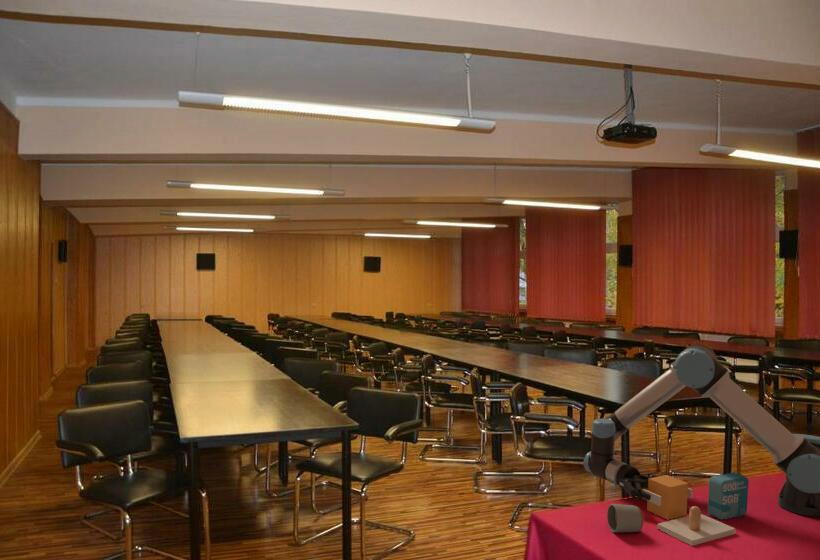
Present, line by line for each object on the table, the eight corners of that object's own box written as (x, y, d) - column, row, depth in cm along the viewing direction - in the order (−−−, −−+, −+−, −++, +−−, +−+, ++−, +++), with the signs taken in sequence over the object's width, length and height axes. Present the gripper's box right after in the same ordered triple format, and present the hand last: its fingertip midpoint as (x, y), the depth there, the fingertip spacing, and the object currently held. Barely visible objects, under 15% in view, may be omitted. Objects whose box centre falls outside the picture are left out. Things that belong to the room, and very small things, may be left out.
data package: (719, 521, 204) (721, 481, 203) (706, 515, 208) (708, 476, 207) (747, 514, 209) (749, 476, 208) (734, 509, 213) (736, 471, 212)
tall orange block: (665, 506, 214) (666, 474, 213) (686, 515, 207) (688, 483, 206) (647, 510, 210) (648, 478, 209) (668, 520, 203) (669, 487, 202)
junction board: (699, 518, 205) (700, 492, 205) (735, 533, 195) (736, 506, 194) (657, 528, 196) (658, 501, 196) (692, 545, 186) (693, 517, 185)
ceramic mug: (644, 536, 191) (645, 509, 191) (616, 537, 190) (617, 509, 190) (627, 521, 202) (629, 495, 202) (601, 521, 201) (602, 496, 201)
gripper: (649, 480, 230) (703, 502, 211) (594, 492, 218) (646, 516, 199) (650, 458, 229) (704, 479, 211) (595, 469, 218) (647, 491, 199)
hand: (676, 497), depth 205 cm, fingers open, 13 cm apart
